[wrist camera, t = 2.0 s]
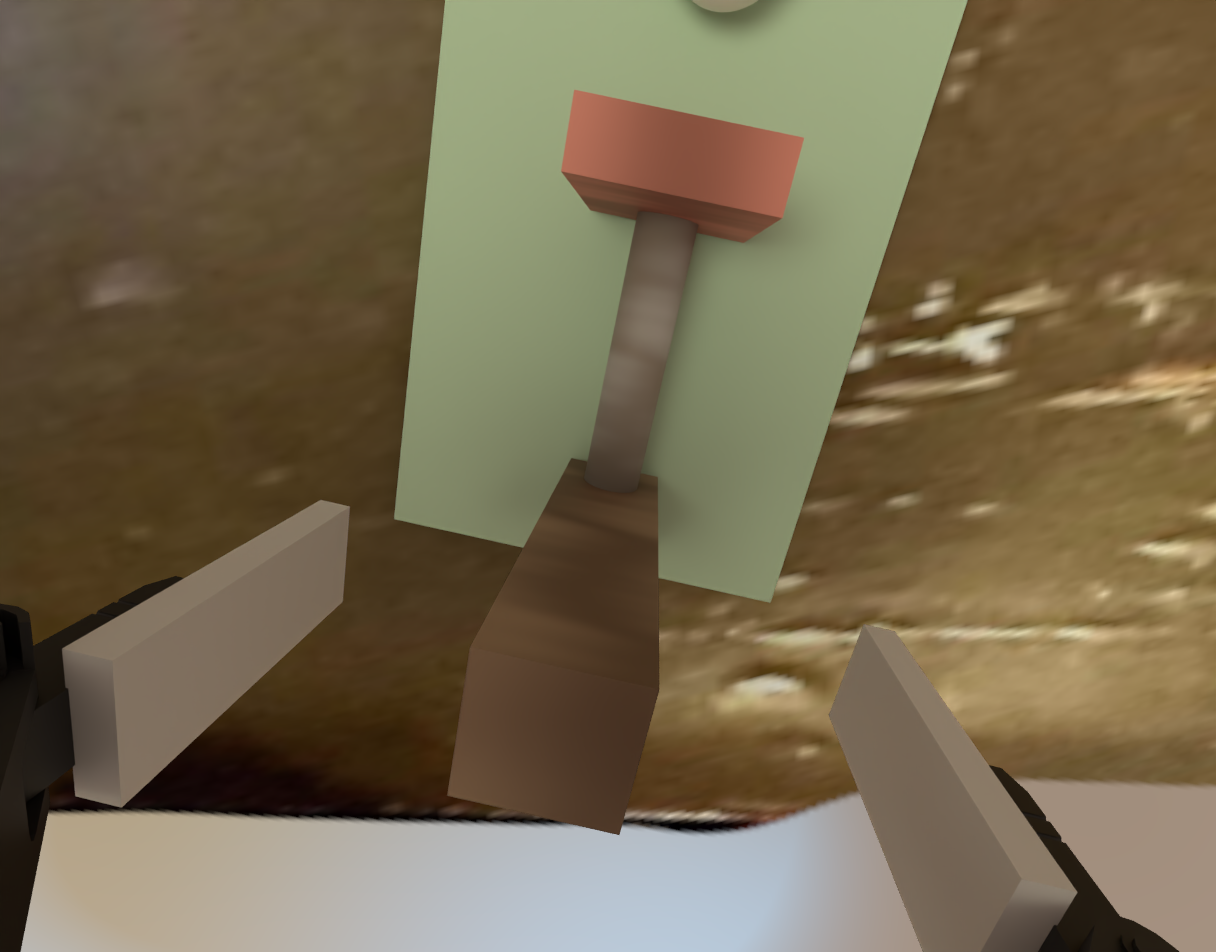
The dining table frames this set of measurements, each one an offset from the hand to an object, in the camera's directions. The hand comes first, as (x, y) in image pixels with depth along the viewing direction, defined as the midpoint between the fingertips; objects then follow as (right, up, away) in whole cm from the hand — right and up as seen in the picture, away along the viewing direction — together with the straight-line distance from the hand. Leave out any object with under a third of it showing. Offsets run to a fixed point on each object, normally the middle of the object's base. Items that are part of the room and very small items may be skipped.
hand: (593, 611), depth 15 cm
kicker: (+1, +7, +5) cm, 9 cm away
